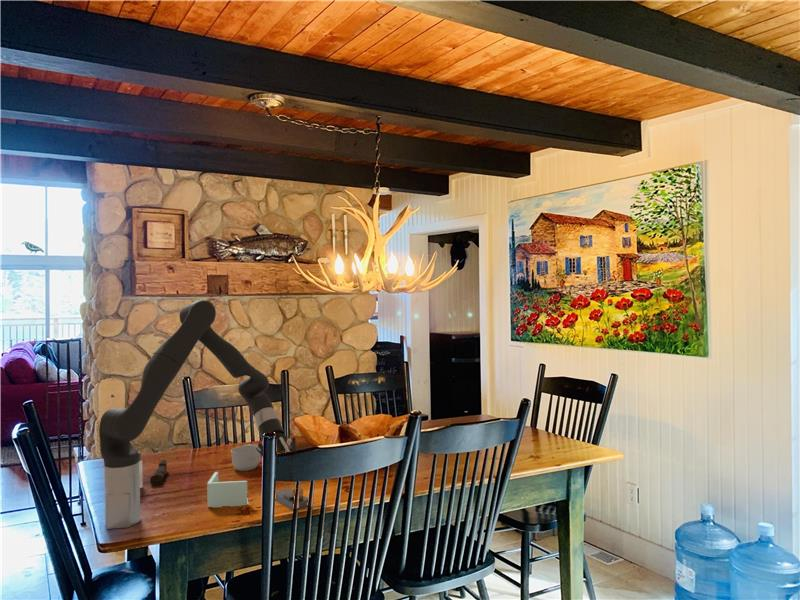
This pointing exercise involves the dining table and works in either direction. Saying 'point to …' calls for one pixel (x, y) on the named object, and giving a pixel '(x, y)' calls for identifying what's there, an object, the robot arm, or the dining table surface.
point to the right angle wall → (226, 492)
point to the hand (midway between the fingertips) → (285, 468)
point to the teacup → (245, 457)
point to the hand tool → (159, 473)
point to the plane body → (290, 498)
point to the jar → (140, 470)
